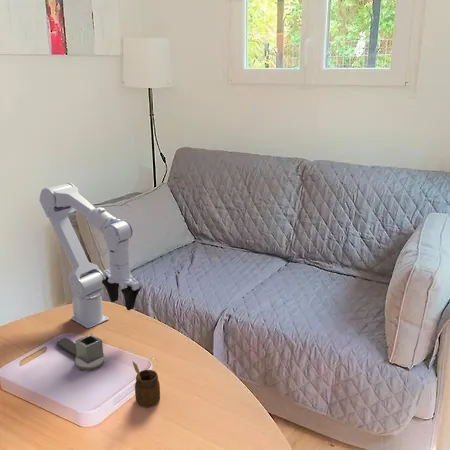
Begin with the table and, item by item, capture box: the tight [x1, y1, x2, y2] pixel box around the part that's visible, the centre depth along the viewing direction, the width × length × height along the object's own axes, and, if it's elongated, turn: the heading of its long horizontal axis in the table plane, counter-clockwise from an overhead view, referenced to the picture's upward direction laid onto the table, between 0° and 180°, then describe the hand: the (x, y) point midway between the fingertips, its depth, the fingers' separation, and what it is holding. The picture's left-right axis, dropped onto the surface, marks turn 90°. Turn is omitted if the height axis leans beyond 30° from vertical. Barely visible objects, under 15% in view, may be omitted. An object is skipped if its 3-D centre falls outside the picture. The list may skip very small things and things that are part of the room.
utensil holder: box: [132, 356, 161, 408], centre depth 122 cm, size 6×6×12 cm
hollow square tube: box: [74, 333, 104, 364], centre depth 137 cm, size 5×5×5 cm
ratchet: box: [55, 337, 105, 372], centre depth 141 cm, size 18×8×4 cm, turn 48°
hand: (122, 304), depth 151 cm, fingers open, 7 cm apart
